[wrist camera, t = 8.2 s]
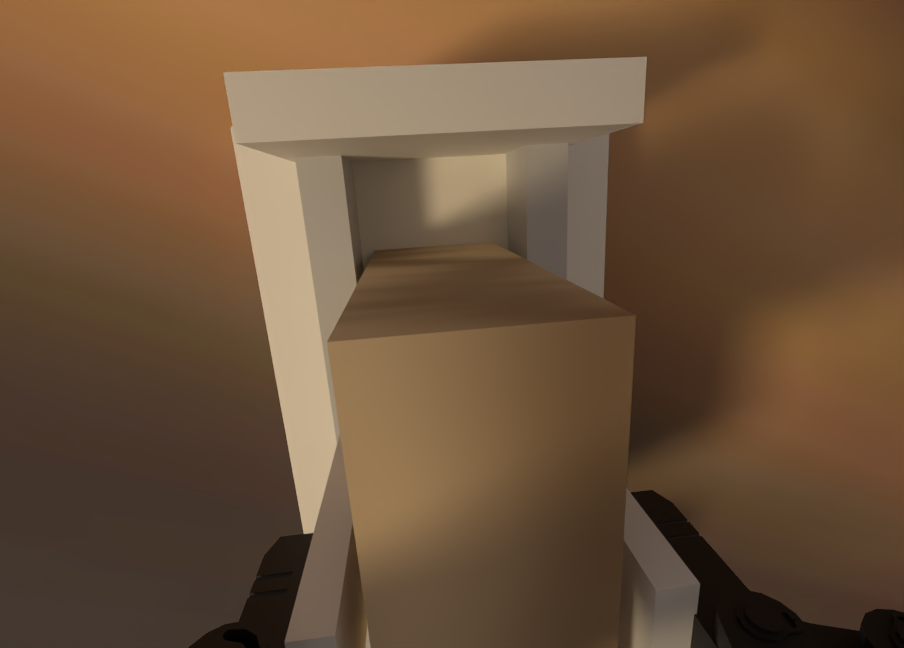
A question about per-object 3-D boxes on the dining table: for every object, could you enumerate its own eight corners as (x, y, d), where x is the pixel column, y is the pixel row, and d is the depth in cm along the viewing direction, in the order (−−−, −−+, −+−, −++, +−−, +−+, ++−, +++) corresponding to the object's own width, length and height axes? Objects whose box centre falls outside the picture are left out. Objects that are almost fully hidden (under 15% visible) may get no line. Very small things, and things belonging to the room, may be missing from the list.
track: (326, 607, 20) (287, 817, 14) (243, 132, 15) (105, 76, 8) (582, 573, 21) (668, 751, 15) (595, 115, 16) (743, 52, 9)
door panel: (405, 544, 18) (409, 917, 9) (374, 250, 15) (326, 341, 6) (501, 532, 19) (604, 879, 9) (491, 241, 15) (636, 315, 6)
